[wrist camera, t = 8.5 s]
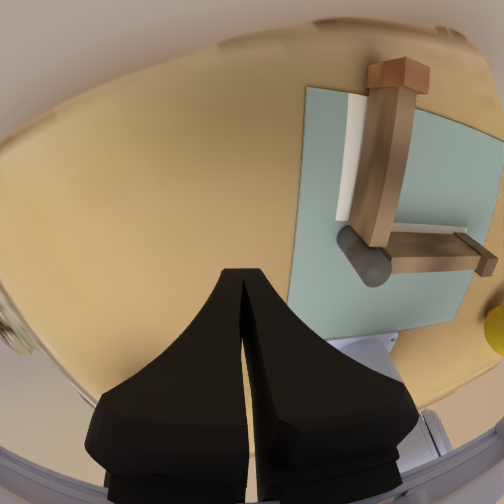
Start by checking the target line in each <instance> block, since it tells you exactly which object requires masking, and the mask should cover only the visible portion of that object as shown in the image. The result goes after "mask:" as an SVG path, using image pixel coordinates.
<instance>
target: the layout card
mask: <svg viewBox="0 0 504 504" xmlns="http://www.w3.org/2000/svg"><path fill="white" fill-rule="evenodd" d="M367 106H368V97H367V96H362V95H357V94H352V93H346V92H340V91H334V90H327V89H320V88H312V87H306V95H305V114H304V131H303V145H302V159H301V172H300V184H299V196H298V207H297V217H296V227H295V237H294V246H293V255H292V264H291V273H290V281H289V289H288V297H287V305H288V306H289V308H290V309H291V310H292V311H293V312H294V313H295V314H296V315H297V316H298V317H299V318H300V319H301V320H302V321H303V322H304V323H305V324H306V325H307V326H308V327H309V328H310V329H312V330H313V331H314V332H315V333H316V334H317V335H319V336H320V337H321V338H323V339H330V338H341V337H351V336H360V335H369V334H377V333H385V332H392V331H399V330H406V329H412V328H418V327H424V326H430V325H435V324H440V323H446V322H451V321H453V319H454V317H455V315H456V313H457V311H458V308H459V306H460V304H461V302H462V300H463V298H464V295H465V293H466V291H467V288H468V286H469V284H470V281H471V279H472V276H473V274H474V270H462V271H445V272H426V273H404V274H391V275H390V277H389V279H388V280H387V281H386V282H385V283H384V284H382V285H381V286H379V287H374V288H371V287H368V286H366V285H365V284H364V283H363V281H362V280H361V278H360V277H359V275H358V274H357V272H356V271H355V269H354V268H353V266H352V265H351V263H350V262H349V260H348V259H347V257H346V256H345V255H344V253H343V252H342V250H341V249H340V247H339V246H338V244H337V241H336V238H337V234H338V232H339V231H340V230H341V229H342V228H343V227H345V226H347V225H350V224H349V223H348V220H349V215H350V210H351V205H352V200H353V195H354V190H355V185H356V179H357V174H358V168H359V162H360V156H361V150H362V143H363V136H364V129H365V122H366V114H367ZM503 165H504V142H502V141H500V140H498V139H495V138H493V137H491V136H489V135H487V134H484V133H482V132H480V131H477V130H475V129H472V128H470V127H467V126H465V125H462V124H460V123H457V122H454V121H452V120H449V119H446V118H443V117H440V116H437V115H434V114H431V113H428V112H425V111H422V110H418V109H415V113H414V121H413V128H412V135H411V141H410V148H409V153H408V159H407V164H406V169H405V174H404V179H403V184H402V189H401V193H400V197H399V202H398V206H397V210H396V214H395V218H394V222H393V225H392V229H391V232H417V233H439V234H454V232H460V233H466V234H467V235H469V236H470V237H471V238H473V239H474V240H475V241H477V242H478V243H479V244H480V245H482V246H484V243H485V240H486V237H487V233H488V230H489V227H490V223H491V220H492V216H493V212H494V208H495V204H496V200H497V196H498V191H499V187H500V182H501V177H502V171H503Z"/></svg>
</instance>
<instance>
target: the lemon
mask: <svg viewBox="0 0 504 504" xmlns="http://www.w3.org/2000/svg"><path fill="white" fill-rule="evenodd" d="M484 333H485V337H486V340H487V342H488V344H489V345H490V346H491V347H492V349H493V350H494V351H496V352H497V353H498V354H500V355H502V356H504V305H501V306H497V307H496V308H494V309H490V310H489V311H488V312H487V318H486V320H485V325H484Z"/></svg>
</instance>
